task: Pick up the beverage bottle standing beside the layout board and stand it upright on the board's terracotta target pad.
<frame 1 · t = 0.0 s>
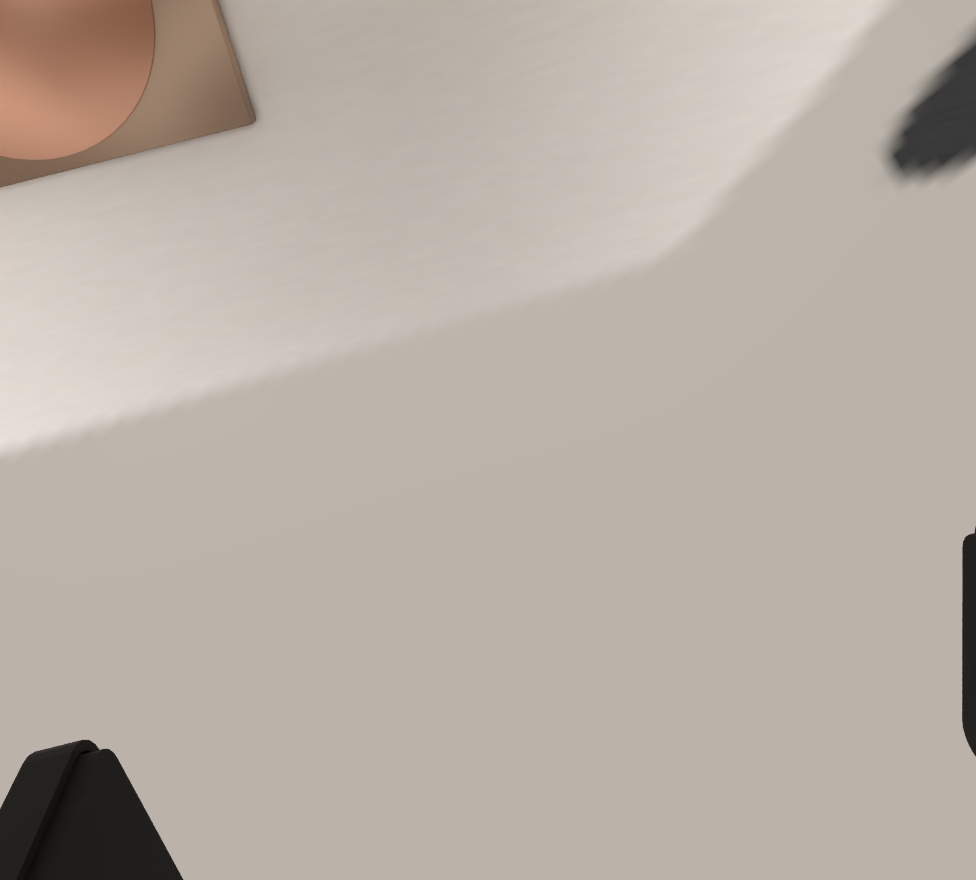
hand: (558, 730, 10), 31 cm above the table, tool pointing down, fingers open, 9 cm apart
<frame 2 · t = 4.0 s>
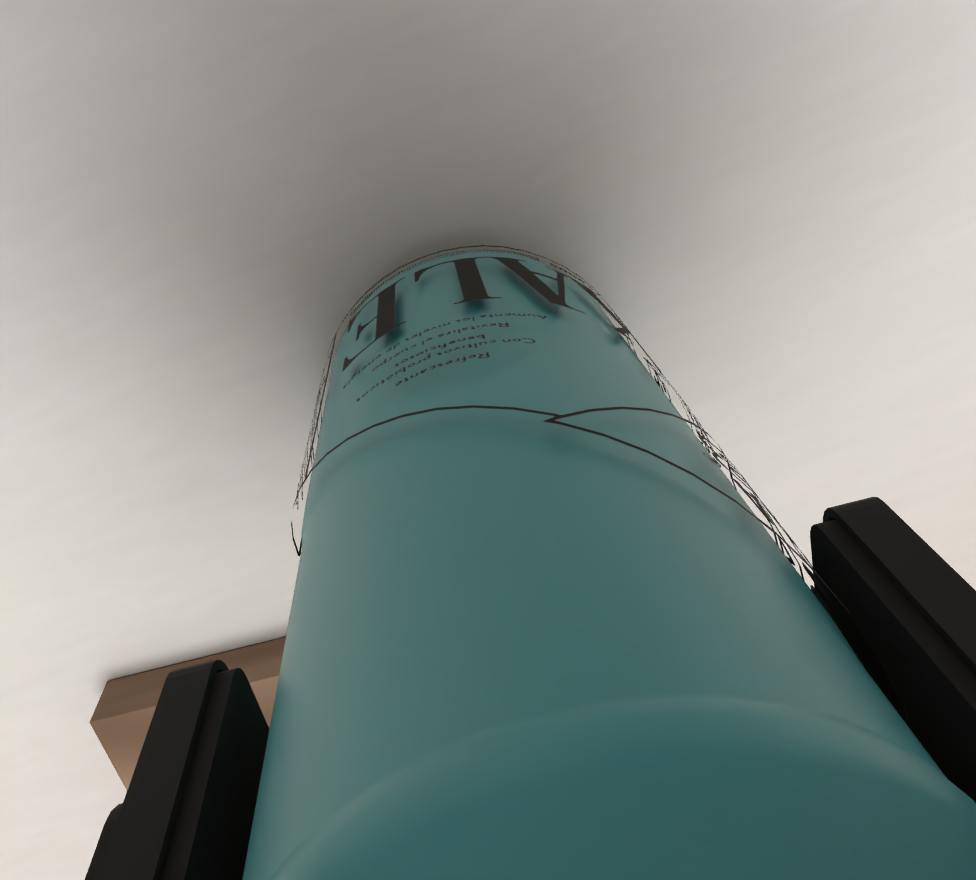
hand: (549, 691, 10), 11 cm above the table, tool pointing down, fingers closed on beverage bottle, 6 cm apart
beverage bottle: (470, 359, 21), on the table, touching gripper
layout board: (444, 821, 26), on the table
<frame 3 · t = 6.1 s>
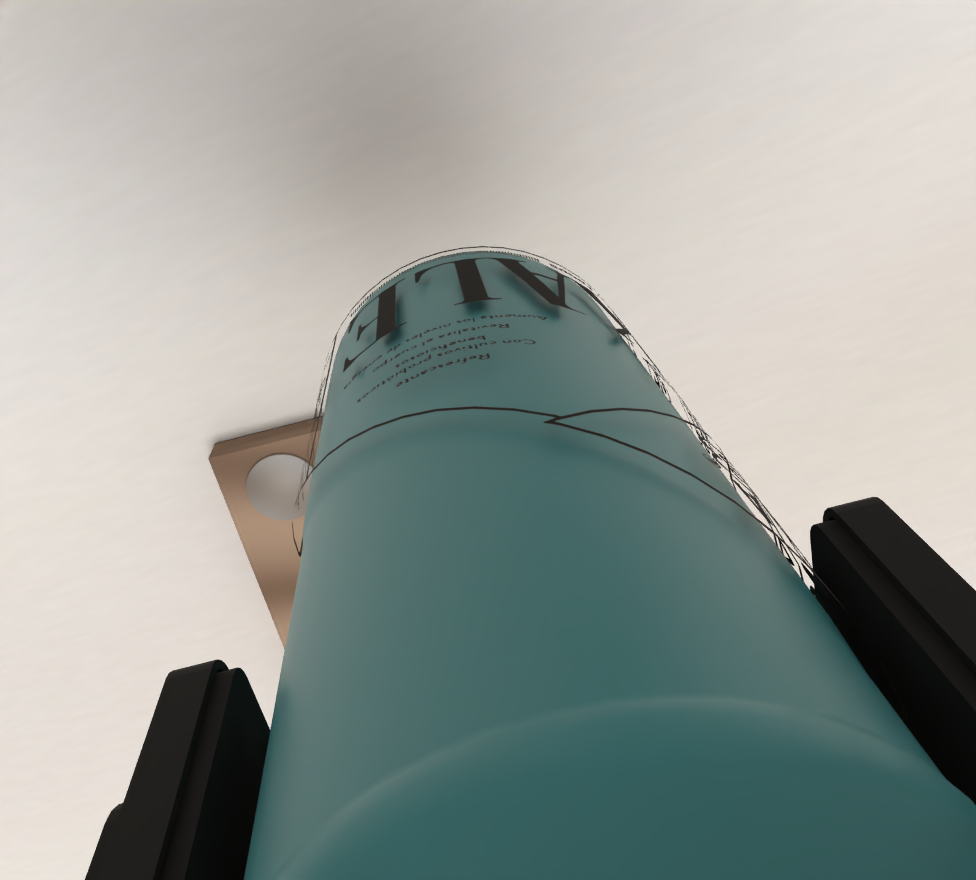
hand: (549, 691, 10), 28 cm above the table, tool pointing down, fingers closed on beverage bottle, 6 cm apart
beverage bottle: (470, 360, 21), point 16 cm above the table, touching gripper
layout board: (421, 551, 41), on the table
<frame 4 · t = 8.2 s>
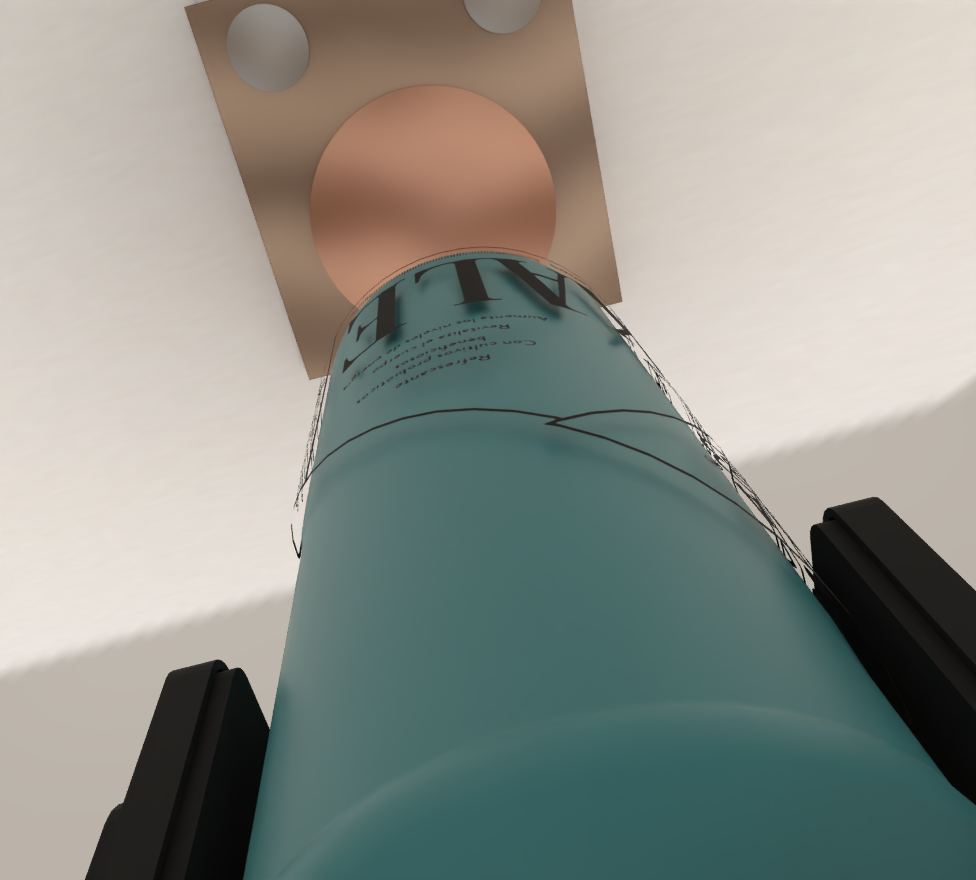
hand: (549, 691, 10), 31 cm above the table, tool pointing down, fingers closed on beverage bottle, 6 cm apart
beverage bottle: (470, 360, 21), point 20 cm above the table, touching gripper
layout board: (421, 162, 38), on the table
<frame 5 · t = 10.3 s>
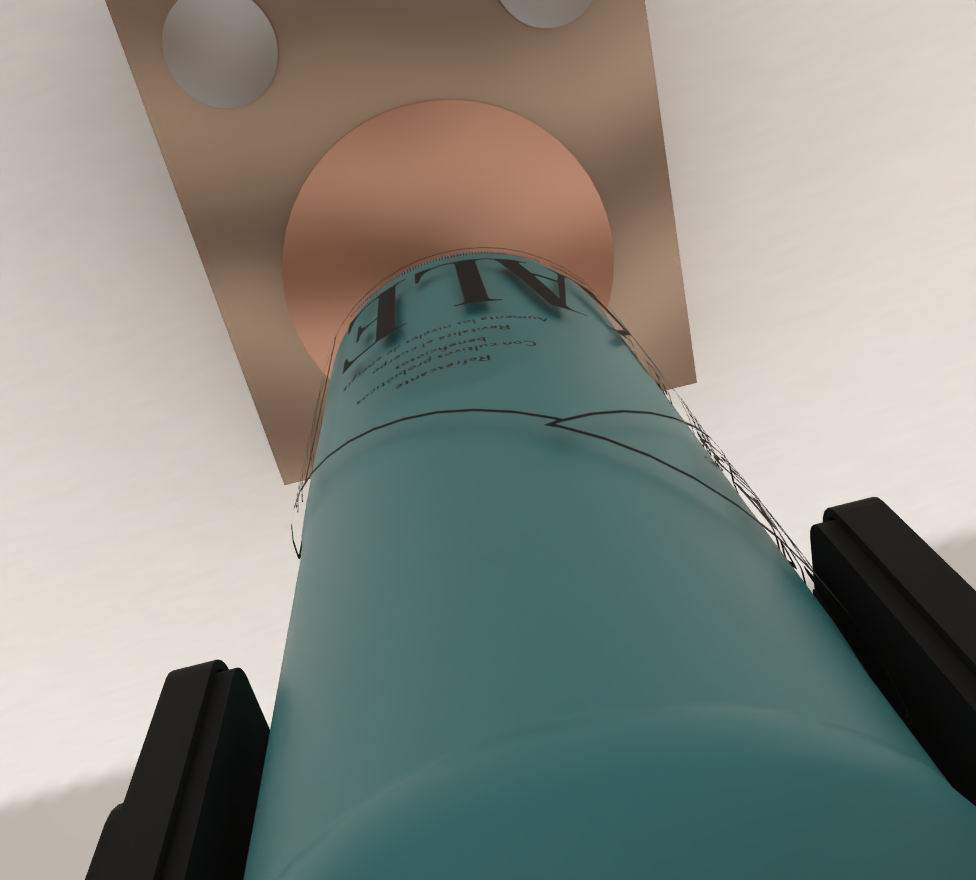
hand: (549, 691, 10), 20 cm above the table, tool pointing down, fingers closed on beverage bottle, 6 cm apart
beverage bottle: (470, 361, 21), point 9 cm above the table, touching gripper
layout board: (432, 200, 28), on the table
when the fingers open (14 cm above the table, at t = 12.4 s): beverage bottle drops 2 cm, resting on layout board.
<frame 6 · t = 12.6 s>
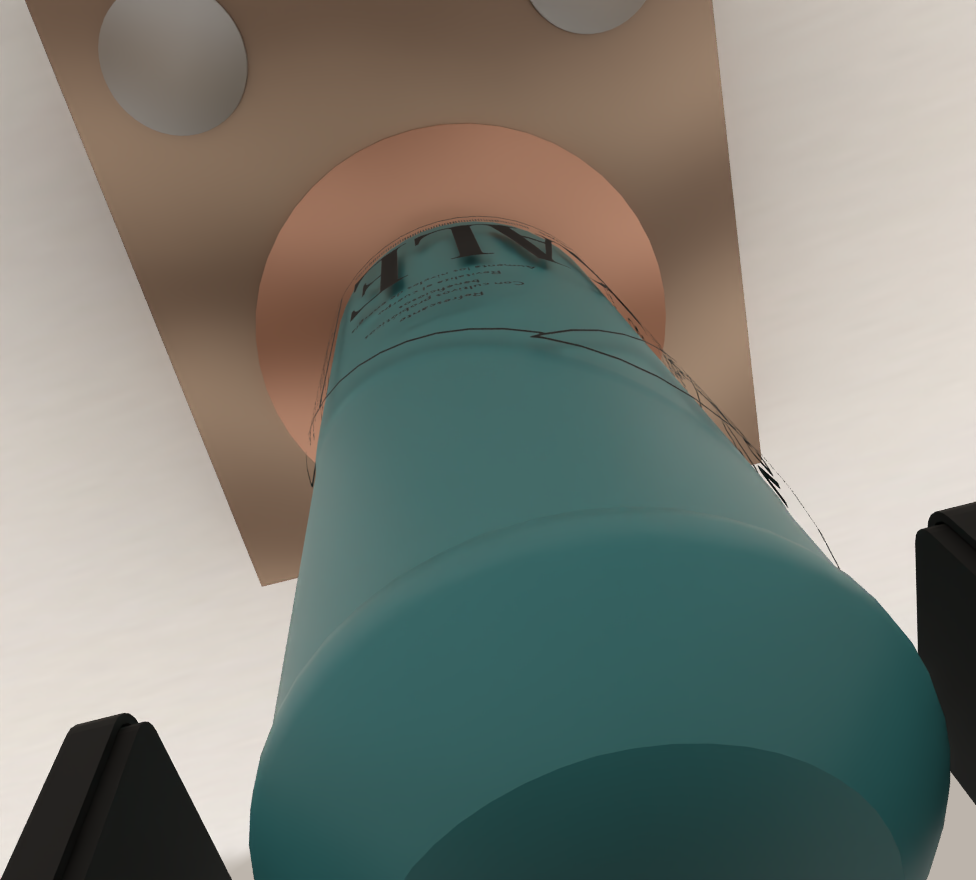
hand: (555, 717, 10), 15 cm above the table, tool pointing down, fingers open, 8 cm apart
beverage bottle: (466, 329, 22), point 2 cm above the table, touching layout board
layout board: (441, 245, 23), on the table
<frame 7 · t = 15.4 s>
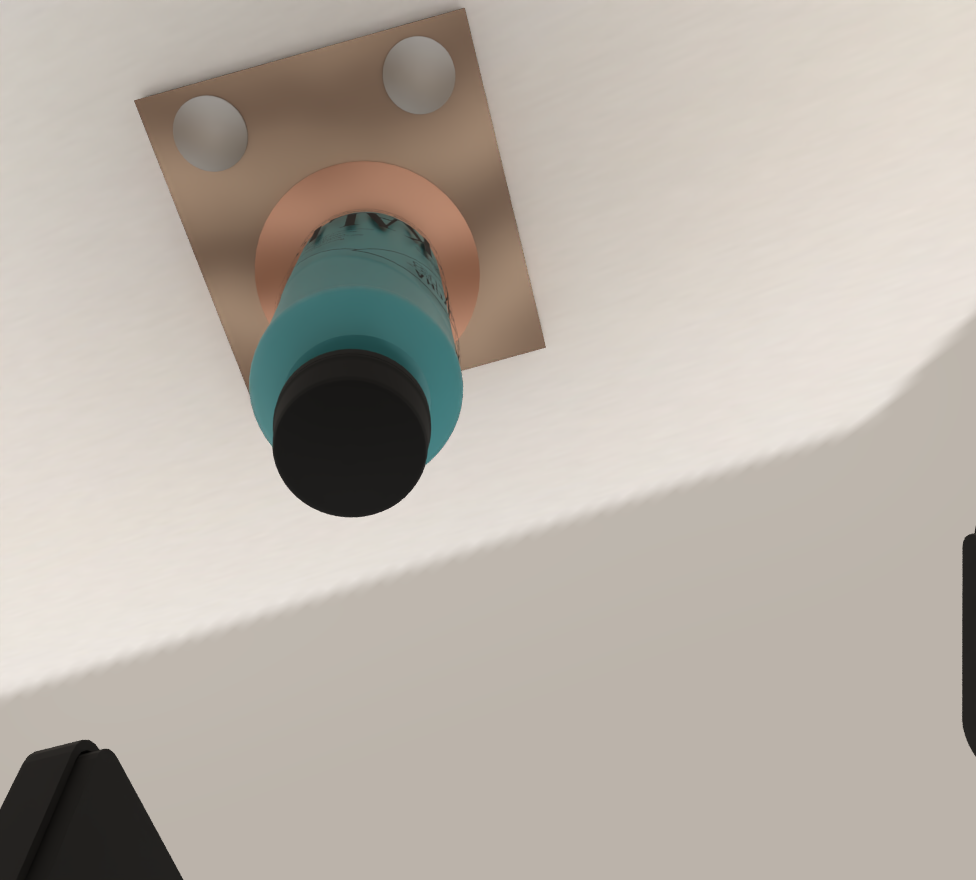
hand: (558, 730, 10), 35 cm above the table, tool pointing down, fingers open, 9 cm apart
beverage bottle: (369, 271, 41), point 1 cm above the table, touching layout board
layout board: (356, 226, 41), on the table
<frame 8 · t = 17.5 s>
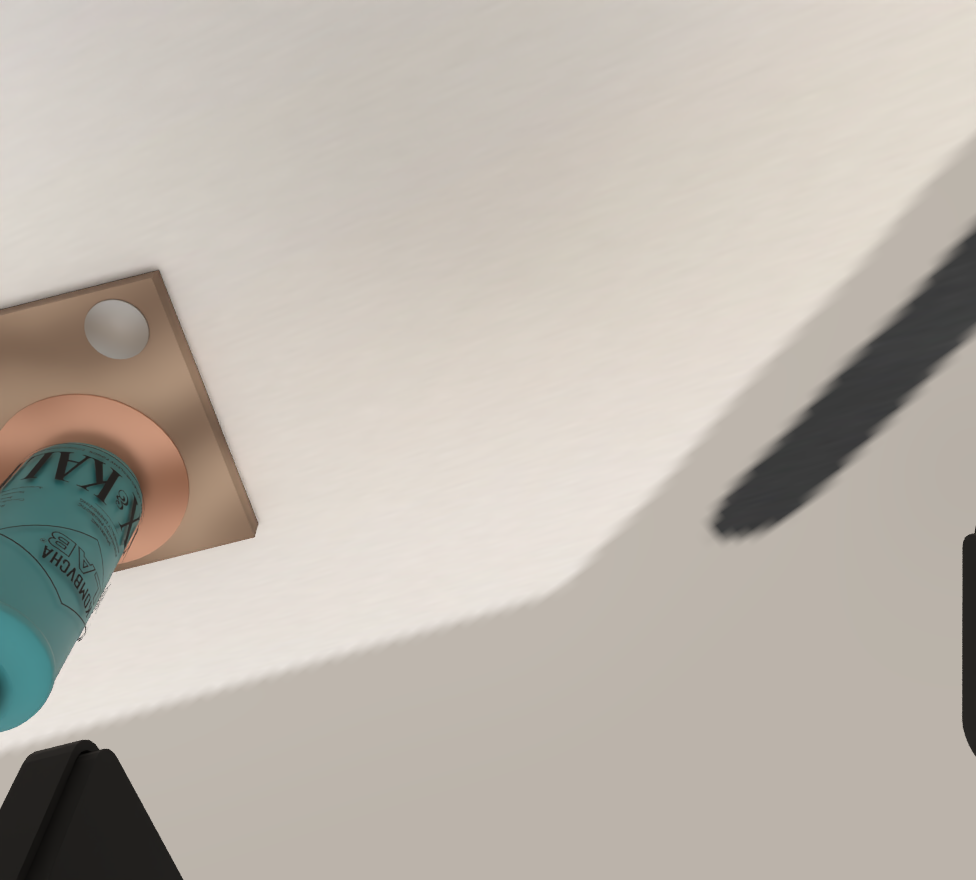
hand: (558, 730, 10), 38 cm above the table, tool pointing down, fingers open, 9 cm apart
beverage bottle: (91, 478, 48), point 1 cm above the table, touching layout board
layout board: (84, 437, 48), on the table
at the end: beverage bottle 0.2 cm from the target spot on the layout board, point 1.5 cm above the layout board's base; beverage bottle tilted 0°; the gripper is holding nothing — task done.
